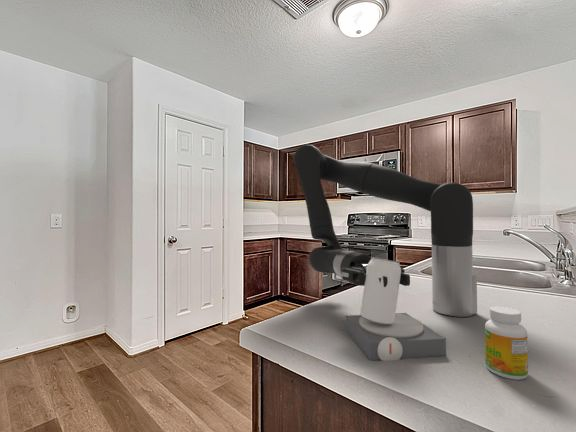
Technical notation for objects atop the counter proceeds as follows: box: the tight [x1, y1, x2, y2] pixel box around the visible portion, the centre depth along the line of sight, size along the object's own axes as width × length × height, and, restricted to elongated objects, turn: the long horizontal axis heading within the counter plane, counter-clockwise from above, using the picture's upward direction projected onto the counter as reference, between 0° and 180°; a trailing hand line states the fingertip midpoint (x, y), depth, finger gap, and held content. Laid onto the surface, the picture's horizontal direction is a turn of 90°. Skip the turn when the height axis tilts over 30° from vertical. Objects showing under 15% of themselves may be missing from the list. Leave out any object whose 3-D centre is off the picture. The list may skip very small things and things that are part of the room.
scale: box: [345, 312, 447, 362], centre depth 57 cm, size 14×15×4 cm
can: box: [359, 256, 402, 325], centre depth 57 cm, size 6×6×12 cm
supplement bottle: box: [484, 305, 529, 381], centre depth 46 cm, size 5×5×10 cm
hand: (397, 281), depth 55 cm, fingers open, 4 cm apart
